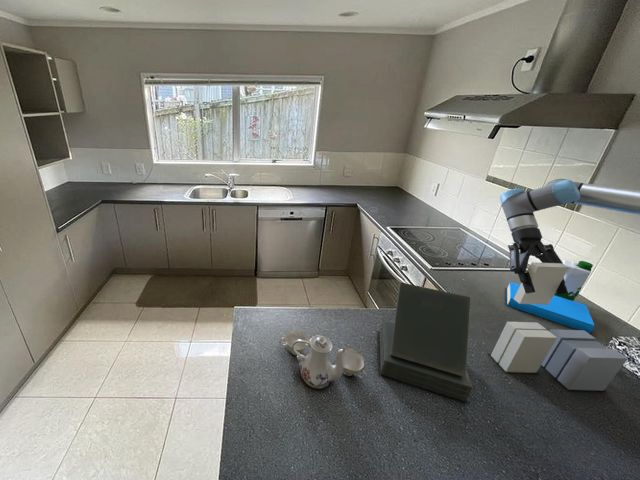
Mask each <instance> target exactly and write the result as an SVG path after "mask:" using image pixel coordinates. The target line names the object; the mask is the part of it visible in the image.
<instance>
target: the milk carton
mask: <svg viewBox="0 0 640 480" xmlns="http://www.w3.org/2000/svg"><path fill="white" fill-rule="evenodd" d="M562 263H563V264H564V265H565V266H567V267H569V269H568V271H567V272H566V274H565V276H564V280H565V286H566V289H567V291H568V293H567V294H557V292H555V294H554V295H555V296H558V297H561V298H565V299H568V300H571V301H575V299H576V298H577V297H578V295H579V293H580V292H581V290H582V288H583V287H584V285H585V283H586V282H587V280H588V279H589V276H590V275H591V273H592V269H593V266H594V264H592V263H591V262H588V261H585V260H579V261H578V262H576V261H573V260H567V259H563V260H562Z"/></svg>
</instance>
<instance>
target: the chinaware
mask: <svg viewBox="0 0 640 480" xmlns="http://www.w3.org/2000/svg"><path fill="white" fill-rule="evenodd" d="M282 340H283V341H284V343H282ZM279 344H280V345H281V346H286V349H288V351H289V352H290V353H291V354H292V355H293V356H296V359H297V361H299V363H298V367H299V370H300V376H301V378H302V380H303V381H304V383H305V384H306V385H307V386H309V387H310V388H311V389H316V390H322V389H324V388H327V387H328V386H329V385H330V383H331V381H336V380H338V379H340V378H341V377H342V375H345V376H349V377H351V376H354V377H359V378H360V379H362V380H365V379H366V378H367V373H366V371H365V370H364V369H365V358H364V356H363V355H362V354H360V353H358V352H357V351H356V350H355V349H353V348H350V347H347V348H341V349H338V350H337V351H336V354H335V355H336V356H335V364H332V362H331V360H330V352H331V351H332V349H333V343H332V341H331V340H330V339H329V338H328V337H326V336H325V335H319V334H318V335H314V336H312V337H311V338H310V339H309V338H308V335H307V334H306V332H304V331H300V330H299V331H298V330H296V329H290V330H289V331H288V332H287V333H284V335H283V337H280V339H279ZM308 347H309V348H310V349H309V352H308V353H307V354H306V355H304V354H302V353H303V352H304V351H305V350H306V349H307V348H308ZM359 372H361V373H363V375H364V377H362V376H361V375H360V374H359Z"/></svg>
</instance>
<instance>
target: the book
mask: <svg viewBox="0 0 640 480" xmlns="http://www.w3.org/2000/svg"><path fill="white" fill-rule="evenodd" d="M520 285H521V284H518V283H515V282H512V281H509V284H508V285H507V288H506V304H507V305H506V306H508V307H511V308H514V309H517V310H519V311H522V312H525V313H529V314H530V315H531V314H532V315H535V316H537V317H539V318H544V319H546V320H549V321H552V322H554V323H557V324H560V325H564V326H566V327H569V328H572V329H574V330H584V331H586V332H587V333H589V334H590V335H591V333H592V332H593V331H594V328H595V323H594V321H593V318H592V315H591V313H590V311H589V309H588V306H587V305H586V304H584V303H581V302H578V301H575V300H574V301H571V300H568V299H565V298H561V297H558V296H555V295H554V296H553V297H552V299H551V301H550V303H549V305H541V304H519V303H518V302H517V301H515V300H514V297H515V295H516V293H517V291H518V289H519V287H520Z"/></svg>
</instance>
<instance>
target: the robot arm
mask: <svg viewBox="0 0 640 480" xmlns="http://www.w3.org/2000/svg"><path fill="white" fill-rule="evenodd" d="M499 200H500V204H501V207H502V211H503V213H504V216H505V218H506V222H507V224H508V228H509V231H510V232H511V233H510V234H511V237H512V241H513V242H512V243H510V244H508V245H507V248H508V251H509V271H511V272H513V273H514V274H515V275H517V276H518V279H519V281H520V284H521V283H522V284H523V287H524V290H525V293H533V292H535V289H534V286H533V283H532V280H531V277H530V274H529V272H527V268H528V264H529V261H530V257H535V258H536V259H538V260H539V261H540V263H562V262H563V260H562V259H561V258H560V256H559V255H558V254H557V252H556V251H555V248H554V245H553V244H552V243H549V244H544V243H543V241H542V239H543V235H542V232H541V230H540V228H539V224H538V221H537V219H536V216H535V212H539V211H541V210H547V209H550V208H555V207H558V206H562V205H568V204H574V205H581V206H585V207H586V206H587V207H591V208H592V207H593V208H596V209H597V208H598V209H603V210H609V211H615V212H620V213H626V214H631V215H637V216H640V190H638V189H631V188H623V187H616V186H609V185H601V184H594V183H587V182H578V181H573V180H571V179H566V178H556V179H553V180H551V181H548V182H547V183H546V184H545V185H544V186H542V187H538V188H535V189H531V190H529V191H526V190H525V189H524V188H519V187H518V188H513V189H509V190H506V191H504V192H502V193H501V194H500V195H499ZM562 264H563V263H562ZM563 265H564V264H563ZM567 271H568V270H567ZM556 292H557V294H567V293H568V291H567V289H566V286H565V280H564V278H563V279H562V281H561V283H560V285H559V287H558V288H557V290H556Z"/></svg>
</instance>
